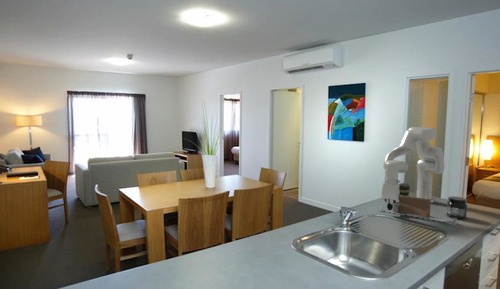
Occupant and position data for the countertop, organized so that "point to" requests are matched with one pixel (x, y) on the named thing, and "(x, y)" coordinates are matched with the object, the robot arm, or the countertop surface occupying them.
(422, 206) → the walnut screen
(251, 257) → the countertop surface
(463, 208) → the supplement container
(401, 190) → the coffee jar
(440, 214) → the countertop surface
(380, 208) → the grey rail
